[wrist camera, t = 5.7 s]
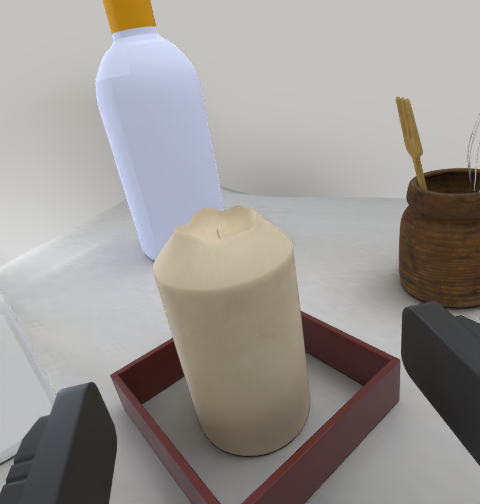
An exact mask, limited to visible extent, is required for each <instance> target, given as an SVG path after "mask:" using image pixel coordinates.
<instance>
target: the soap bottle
mask: <svg viewBox="0 0 480 504" xmlns="http://www.w3.org/2000/svg"><path fill="white" fill-rule="evenodd" d="M103 4H104V7H105V11H106V14H107V18H108V22H109V25H110V29H111V33H112V37H113V44H112V46H111V48H110V49H109V50H108V51H107V52H106V53H105V55H104V57H103V59H102V62H101V64H100V67H99V71H98V74H97V77H96V80H95V85H96V96H97V104H98V107H99V110H100V114H101V117H102V120H103V123H104V127H105V130H106V133H107V136H108V139H109V142H110V146H111V149H112V152H113V156H114V159H115V162H116V165H117V168H118V172H119V175H120V178H121V181H122V185H123V188H124V191H125V194H126V198H127V201H128V204H129V207H130V211H131V214H132V217H133V220H134V223H135V227H136V230H137V233H138V236H139V240H140V243H141V246H142V249H143V252H144V253H145V254H146V255H147V256H148V257H149V258H150V259H151V260H156V259H157V257H158V255H159V254H160V252H161V250H162V249H163V247H164V246H165V244H166V243H167V242H168V240H169V239H170V237H171V236H172V234H173V232H174V230H175V228H176V227H177V226H178V225H183V226H186V225H187V224H188V223H189V222H190V220H191V219H192V218H193V216H194V215H195V213H196V212H197V211H199V210H200V209H203V208H215V209H218V210H223V211H225V209H224V203H223V198H222V193H221V188H220V183H219V177H218V172H217V167H216V162H215V157H214V152H213V146H212V142H211V136H210V131H209V126H208V120H207V116H206V110H205V106H204V100H203V95H202V90H201V84H200V81H199V79H198V77H197V74H196V72H195V69H194V67H193V64H192V63H191V62H190V61H189V60H188V58H187V57H186V56H185V55H184V54H183V53H182V52H181V51H180V50H179V49H178V48H177V47H176V46H175V45H174V44H173V43H172V42H171V41H168V40H166V39H163V38H162V37H161V36H160V35H159V34H158V32H157V28H156V23H155V19H154V15H153V10H152V6H151V2H150V0H103Z"/></svg>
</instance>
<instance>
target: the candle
mask: <svg viewBox="0 0 480 504" xmlns="http://www.w3.org/2000/svg"><path fill="white" fill-rule="evenodd" d="M153 274H154V277H155V281H156V284H157V287H158V291H159V294H160V297H161V300H162V304H163V307H164V310H165V314H166V317H167V320H168V323H169V327H170V330H171V333H172V336H173V340H174V343H175V346H176V349H177V353H178V356H179V359H180V363H181V366H182V369H183V372H184V376H185V379H186V382H187V385H188V389H189V392H190V395H191V398H192V402H193V405H194V408H195V411H196V414H197V417H198V420H199V423H200V425H201V428H202V430H203V431H204V433H205V435H206V436H207V438H208V439H209V440H210V441H211V442H212V443H213V444H214V445H216V446H217V447H218V448H220V449H222V450H224V451H226V452H229V453H232V454H236V455H242V456H256V455H263V454H266V453H270V452H273V451H275V450H278V449H280V448H281V447H283V446H285V445H286V444H288V443H289V442H291V441H292V440H293V439H294V438H295V437H296V436H297V435H298V434H299V432H300V431H301V430H302V428H303V427H304V425H305V423H306V421H307V418H308V414H309V408H310V393H309V382H308V373H307V364H306V355H305V347H304V338H303V329H302V320H301V312H300V303H299V294H298V285H297V277H296V268H295V259H294V251H293V243H292V240H291V239H290V237H289V236H288V235H287V234H286V233H285V232H283V231H282V230H280V229H279V228H278V227H276V226H275V225H274V224H272V223H271V222H269V221H268V220H266V219H265V218H263V217H262V216H261V215H260V214H258V213H257V212H256V211H255V210H252V209H250V208H248V207H244V206H235V207H233V208H231V209H228V210H225V211H223V210H218V209H215V208H203V209H200V210H199V211H197V212H196V213H195V215H194V216H193V218H192V219H191V220H190V222H189V223H188V224H187V225H186V226H183V225H178V226H177V227H176V228H175V230H174V232H173V234H172V236H171V237H170V239H169V240H168V242H167V243H166V244H165V246H164V247H163V249H162V250H161V252H160V254H159V255H158V257H157V259H156V260H155V262H154V265H153Z"/></svg>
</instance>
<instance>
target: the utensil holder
mask: <svg viewBox="0 0 480 504" xmlns="http://www.w3.org/2000/svg"><path fill="white" fill-rule="evenodd" d="M396 103H397V108H398V112H399V117H400V122H401V127H402V131H403V137H404V142H405V146H406V149H407V151H408V153H409V154H410V155H411V157H412V159H413V163H414V166H415V171H416V175H417V176H416V177H414V178H413V179H412V180H411V181H410V183H409V187H408V191H407V196H406V198H407V202H408V204H409V206H408V207H407V208H406V210H405V211H404V213H403V215H402V219H401V224H400V238H399V274H400V280H401V283H402V285H403V287H404V288H405V289H406V290H407V291H408V292H409V293H410V294H411V295H413V296H414V297H416V298H418V299H420V300H422V301H425V302H430V301H436V302H438V303H439V304H441V305H442V306H444V307H456V308H461V307H472V306H477V305H480V169H471V168H470V157H469V163H468V168H453V169H441V170H435V171H430V172H426V173H423V170H422V165H421V161H420V156H421V155H422V153H423V150H422V146H421V142H420V138H419V134H418V131H417V127H416V123H415V119H414V115H413V111H412V108H411V104H410V101H409V99H406V100H405V99H404V98H403V97H402V98H401V99H400V97H396ZM479 115H480V114H479ZM479 115H478V117H479ZM478 117H477V119H478ZM477 119H476V122H477ZM476 122H475V124H476ZM479 122H480V120H479ZM479 122H478V124H479ZM474 127H475V125H474ZM477 127H478V125H477ZM473 130H474V128H473ZM476 130H477V128H476ZM472 133H473V131H472ZM475 133H476V131H475ZM474 136H475V134H474ZM471 137H472V134H471ZM471 137H470V140H471ZM473 139H474V137H473ZM472 144H473V140H472ZM472 144H471V148H472ZM469 145H470V141H469ZM469 145H468V149H469ZM479 146H480V143H479ZM471 148H470V154H471ZM468 151H469V150H468ZM478 151H479V147H478ZM469 156H470V155H469ZM467 157H468V154H467ZM477 158H478V153H477ZM467 162H468V158H467ZM476 168H477V159H476Z"/></svg>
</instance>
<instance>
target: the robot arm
mask: <svg viewBox="0 0 480 504" xmlns="http://www.w3.org/2000/svg"><path fill="white" fill-rule="evenodd" d="M401 356H402V361H403V364H404V367H405V369H406V371H407V373H408V375H409V376H410V378H411V379H412V380H413V382H414V383H415V384H416V385H417V387H418V388H419V389H420V390H421V392H422V393H423V394H424V396H425V397H426V398H427V399H428V401H429V402H430V403H431V404H432V406H433V407H434V408H435V410H436V411H437V412H438V413H439V415H440V416H441V417H442V418H443V420H444V421H445V422H446V424H447V425H448V426H449V427H450V429H451V430H452V431H453V432H454V434H455V435H456V436H457V438H458V439H459V440H460V441H461V443H462V444H463V445H464V446H465V448H466V449H467V450H468V452H469V453H470V454H471V455H472V457H473V458H474V459H475V461H476V462H477V463H478V464H479V466H480V324H479V323H477V322H475V321H473V320H470V319H468V318H466V317H464V316H462V315H460V316H456V317H455V316H454V315H452V314H451V313H450V312H449V311H448V310H447V309H445V308H444V307H443V306H442V305H441V304H439V303H438V302H436V301H430V302H426V303H422V304H418V305H414V306H410V307H406V308H404V310H403V313H402V339H401ZM116 452H117V436H116V430H115V426H114V423H113V421H112V419H111V416H110V414H109V412H108V410H107V408H106V405H105V403H104V401H103V399H102V396H101V394H100V392H99V390H98V388H97V386H96V384H95V383H93V382H90V383H85V384H81V385H77V386H73V387H69V388H65V389H61V390H60V391H59V392H58V393H57V396H56V398H55V401H54V404H53V407H52V410H51V412H50V415H47V416H43V417H39V419H38V420H37V421H36V422H35V424H34V425H33V426H32V427H31V429H30V430H29V431H28V433H27V434H26V435H25V436H24V438H23V439H22V442H21V444H20V447H19V449H18V452H17V454H16V456H15V459H14V465H12V466H11V469H10V471H9V474H8V476H7V478H6V485H4V486H3V488H2V491H1V493H0V504H109V499H110V493H111V486H112V479H113V472H114V465H115V459H116Z"/></svg>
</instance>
